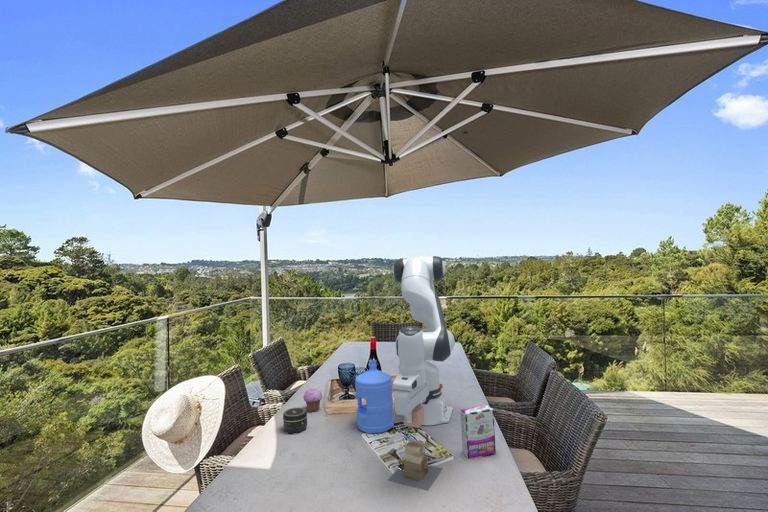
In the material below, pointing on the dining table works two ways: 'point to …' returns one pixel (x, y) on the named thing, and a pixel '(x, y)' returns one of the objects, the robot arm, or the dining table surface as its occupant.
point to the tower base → (416, 469)
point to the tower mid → (415, 451)
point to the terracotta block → (416, 417)
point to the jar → (295, 420)
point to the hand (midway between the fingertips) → (414, 418)
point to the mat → (423, 484)
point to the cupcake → (313, 399)
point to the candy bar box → (478, 431)
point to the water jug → (374, 400)
